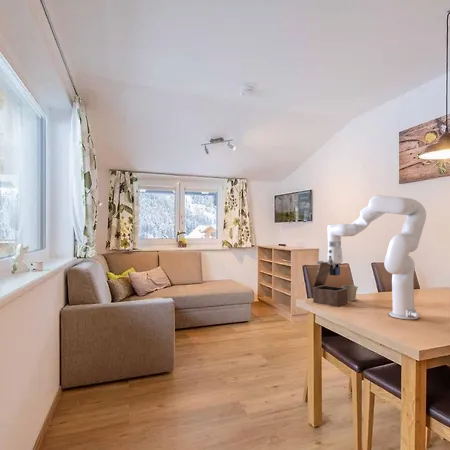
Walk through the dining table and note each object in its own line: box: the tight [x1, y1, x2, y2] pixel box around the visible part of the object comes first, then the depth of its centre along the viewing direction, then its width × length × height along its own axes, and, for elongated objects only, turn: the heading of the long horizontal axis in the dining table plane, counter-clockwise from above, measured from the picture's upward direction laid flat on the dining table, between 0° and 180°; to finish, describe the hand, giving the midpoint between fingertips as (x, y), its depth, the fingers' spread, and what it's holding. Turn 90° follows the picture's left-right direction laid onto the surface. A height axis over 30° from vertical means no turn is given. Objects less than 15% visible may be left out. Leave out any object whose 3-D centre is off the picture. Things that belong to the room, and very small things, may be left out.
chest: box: [312, 284, 349, 307], centre depth 185 cm, size 16×13×9 cm
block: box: [329, 267, 341, 277], centre depth 183 cm, size 4×4×4 cm
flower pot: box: [341, 284, 359, 302], centre depth 192 cm, size 9×9×9 cm
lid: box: [312, 260, 330, 288], centre depth 191 cm, size 17×13×5 cm
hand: (334, 274), depth 183 cm, fingers closed on block, 4 cm apart
